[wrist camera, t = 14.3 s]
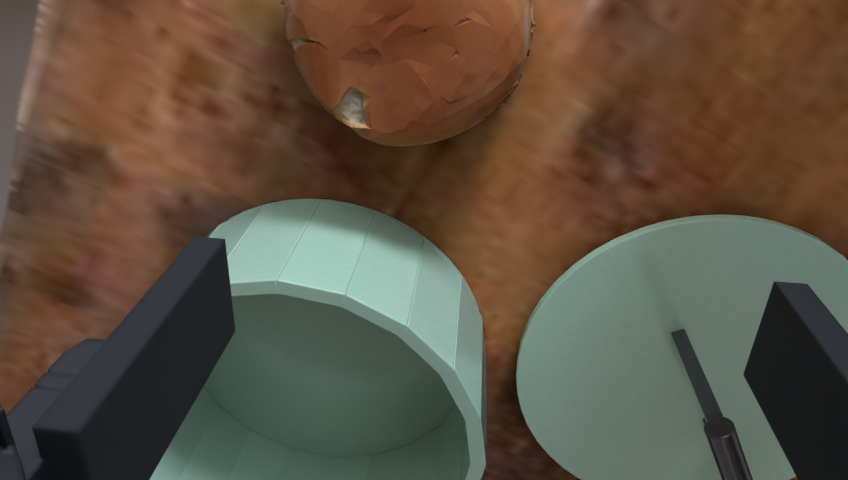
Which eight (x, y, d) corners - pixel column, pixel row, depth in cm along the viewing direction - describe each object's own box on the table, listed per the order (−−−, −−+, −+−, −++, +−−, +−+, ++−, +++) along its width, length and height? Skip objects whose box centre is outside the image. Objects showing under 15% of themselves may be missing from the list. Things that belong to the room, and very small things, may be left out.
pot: (399, 145, 31) (373, 219, 24) (532, 412, 38) (541, 531, 31) (111, 266, 36) (18, 358, 29) (275, 486, 43) (232, 603, 36)
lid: (842, 150, 30) (966, 241, 22) (902, 441, 37) (1012, 589, 29) (461, 283, 35) (453, 396, 27) (579, 518, 42) (600, 661, 34)
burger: (564, -57, 27) (576, -47, 23) (486, 151, 31) (485, 191, 27) (328, -139, 26) (297, -144, 22) (282, 85, 31) (249, 115, 27)
